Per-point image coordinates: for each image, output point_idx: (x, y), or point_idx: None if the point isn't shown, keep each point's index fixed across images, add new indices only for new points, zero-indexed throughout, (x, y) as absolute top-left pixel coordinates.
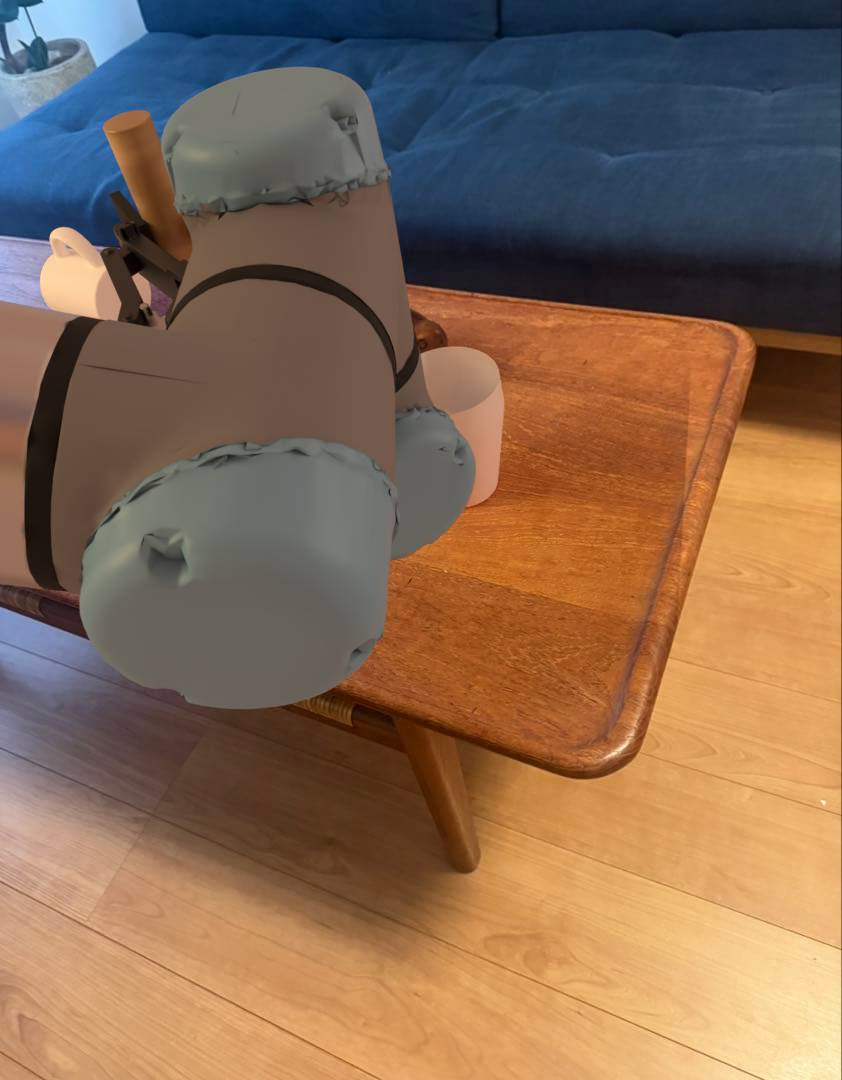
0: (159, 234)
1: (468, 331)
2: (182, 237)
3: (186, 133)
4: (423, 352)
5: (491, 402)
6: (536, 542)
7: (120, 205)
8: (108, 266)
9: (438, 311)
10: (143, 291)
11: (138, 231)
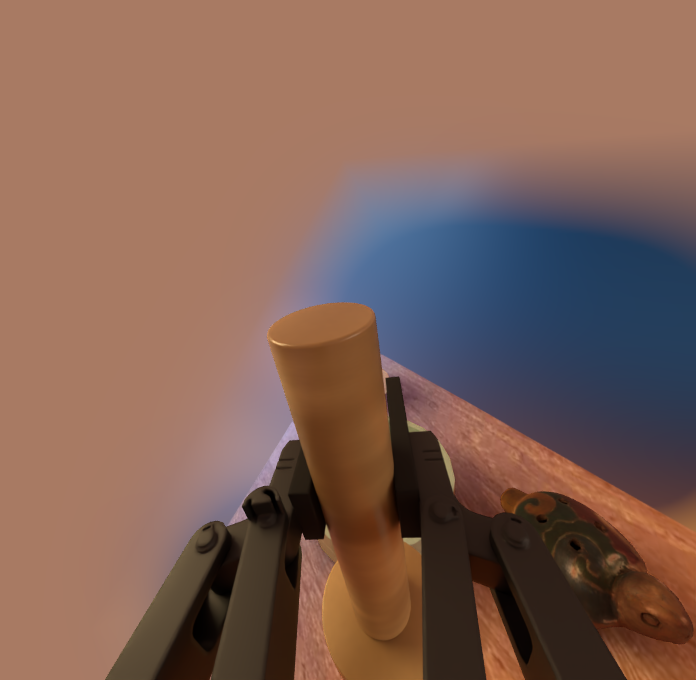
0: (327, 514)
1: (668, 560)
2: (366, 533)
3: None
4: (648, 628)
5: None
6: None
7: None
8: (146, 621)
9: (619, 507)
10: (384, 385)
11: (281, 512)
